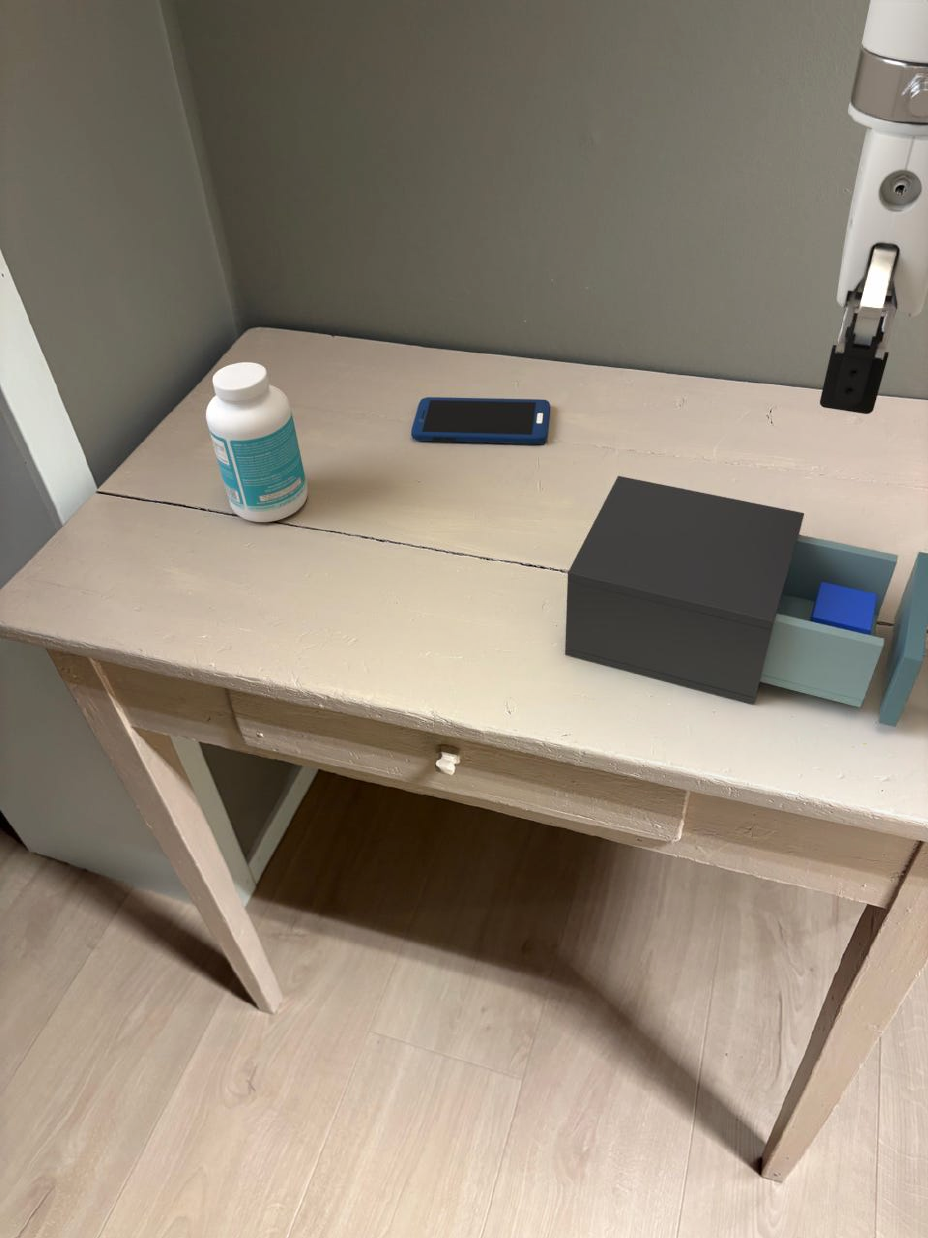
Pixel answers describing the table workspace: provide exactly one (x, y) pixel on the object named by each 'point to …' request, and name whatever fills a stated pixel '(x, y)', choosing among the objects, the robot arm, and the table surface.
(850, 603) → the blue block
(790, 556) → the dark grey drawer cabinet
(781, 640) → the drawer
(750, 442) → the table surface
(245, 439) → the pill bottle
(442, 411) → the cell phone
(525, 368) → the table surface
